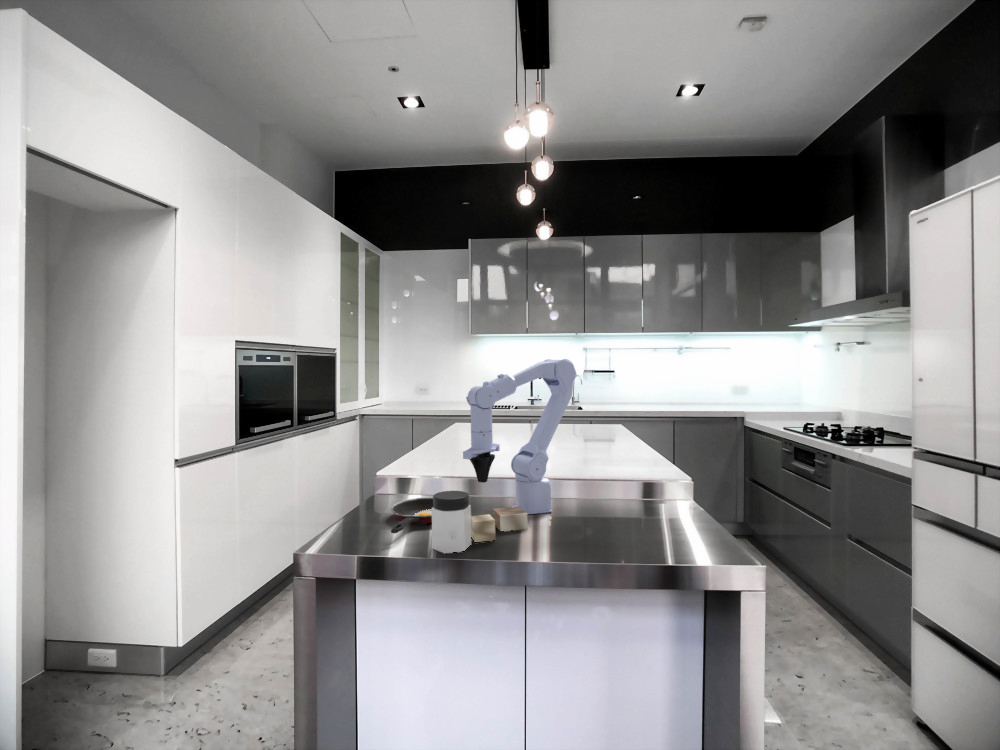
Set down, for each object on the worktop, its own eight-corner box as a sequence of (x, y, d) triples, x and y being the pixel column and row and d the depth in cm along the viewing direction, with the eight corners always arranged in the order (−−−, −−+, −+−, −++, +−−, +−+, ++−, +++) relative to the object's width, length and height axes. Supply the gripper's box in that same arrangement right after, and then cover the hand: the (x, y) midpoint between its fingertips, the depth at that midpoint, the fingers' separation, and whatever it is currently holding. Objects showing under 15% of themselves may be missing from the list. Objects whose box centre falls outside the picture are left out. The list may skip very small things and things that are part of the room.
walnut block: (527, 529, 134) (518, 521, 140) (527, 513, 133) (518, 506, 140) (500, 532, 132) (493, 524, 138) (500, 516, 132) (493, 508, 138)
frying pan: (467, 509, 153) (467, 496, 153) (433, 548, 121) (432, 531, 121) (404, 506, 156) (404, 494, 156) (355, 544, 125) (355, 528, 125)
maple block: (489, 534, 130) (489, 514, 130) (495, 541, 125) (495, 520, 125) (469, 536, 129) (469, 516, 128) (474, 543, 124) (474, 522, 124)
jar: (434, 555, 116) (433, 500, 116) (430, 543, 124) (429, 492, 124) (474, 551, 118) (473, 497, 118) (468, 539, 126) (467, 489, 126)
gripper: (478, 435, 134) (479, 489, 134) (508, 428, 146) (509, 477, 147) (456, 433, 138) (457, 486, 138) (487, 427, 150) (487, 475, 150)
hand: (482, 481), depth 143 cm, fingers closed
